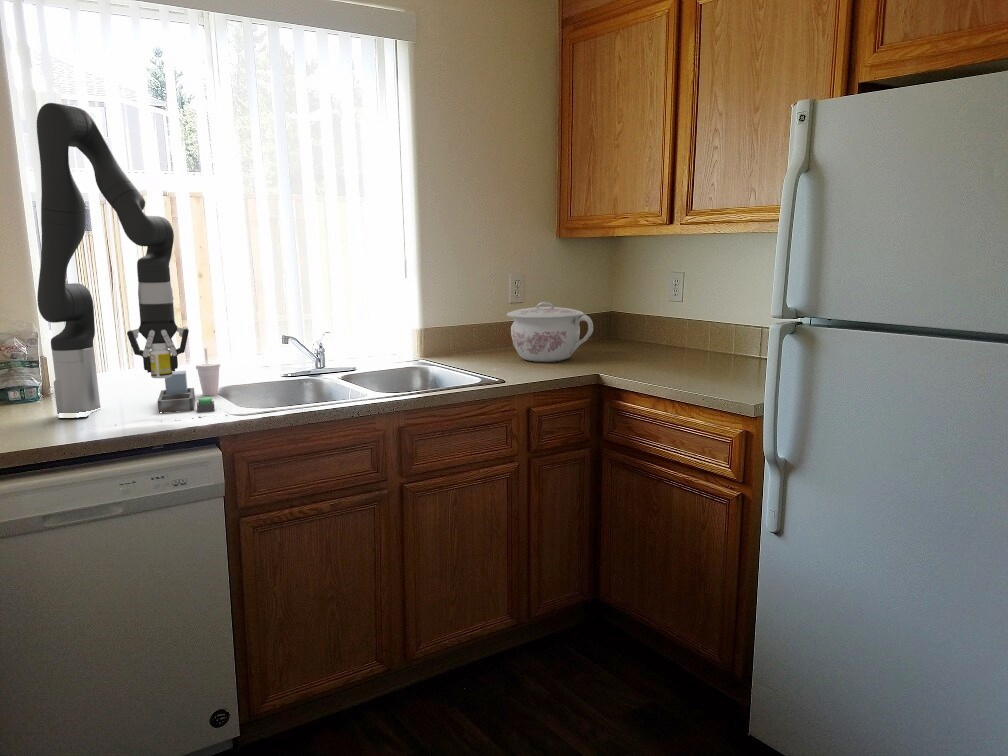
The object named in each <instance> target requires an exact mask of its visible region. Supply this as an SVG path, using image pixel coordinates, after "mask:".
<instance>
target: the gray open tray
mask: <svg viewBox="0 0 1008 756" xmlns="http://www.w3.org/2000/svg"><path fill="white" fill-rule="evenodd" d="M187 388H188V393H179V394H166V389H163V390H160V393H159V396H158V397H157V409H158V410H157V411H158V412H159V413H160V412H162V413H161V414H165V413H164V412H173V413H177V412H176V411H180V412H179V413H182V412H183V413H184V412H194V411H195V407H196V399H195V398H196V396H195V395H196V394H195V387H187ZM158 412H157V413H158Z"/></svg>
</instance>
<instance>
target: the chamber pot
mask: <svg viewBox="0 0 1008 756" xmlns="http://www.w3.org/2000/svg"><path fill="white" fill-rule="evenodd" d="M506 316H507V317H509V318H512V319H513V322H512V324H511V326H510V335H511V339H512V345H513V347H514V348H515V350H516V352H517V354H518V355H519V356H520V357H521V359H524V360H526V361H528V362H532V361H533V363H557V362H556V361H558V362H561V361H564V360H567V359H569V358H570V357H571V356H572V355H573V354H574V353H575V351H576V350H577V349H578V348H579V347H580V345H582V344H583V343H584V342H586V341H588V340H589V339H590V337H591V336H592V334H593V332H594V323H593V320H592V319H591V317H590V316H589V315H587V314H585V313H584V312H583V311H581V310H578V309H573V308H568V307H567V308H566V307H559V306H554V304H553V303H551V302H548V301H541V302H539V303H537V304H536V305H535V307H526V308H521V309H516V310H512V311H508V312H507V313H506ZM580 322H586V323H587V331H586V333H585V336H583V338H582V339H580V336H581V335H580V334H581V331H580V330H581V326H580Z"/></svg>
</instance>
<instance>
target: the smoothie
mask: <svg viewBox="0 0 1008 756" xmlns="http://www.w3.org/2000/svg"><path fill="white" fill-rule="evenodd" d="M204 359H205V360H204V361H205V362H203V363H197V364H195V369H196V370H197V374H198V377H199V379H198V380H199V384H200V388H201V392H202V396H204V395H211V396H216V395H218V394H219V383H220V382H219V380H220V368H221V363H220V362H214V361H213V362H209V361H208V350H207V348H206V347H205V348H204Z"/></svg>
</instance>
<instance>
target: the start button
mask: <svg viewBox="0 0 1008 756" xmlns="http://www.w3.org/2000/svg"><path fill="white" fill-rule="evenodd" d="M197 400H198V401H197V402H200V405H201V404H211V402H210V401H213V398H212V397H211V396H210V397H209V396H206V397H205V396H204V397H200V398H198V399H197Z"/></svg>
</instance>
